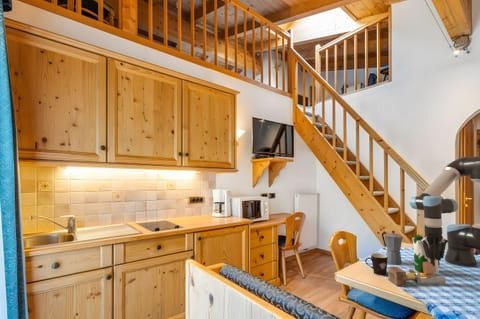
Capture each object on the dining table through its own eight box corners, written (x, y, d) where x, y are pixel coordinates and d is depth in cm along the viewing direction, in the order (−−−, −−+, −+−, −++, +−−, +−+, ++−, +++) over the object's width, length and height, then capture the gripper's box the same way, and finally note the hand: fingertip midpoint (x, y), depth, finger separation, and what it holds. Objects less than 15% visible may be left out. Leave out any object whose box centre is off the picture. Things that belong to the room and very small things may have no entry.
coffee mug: (388, 271, 156) (387, 253, 156) (389, 277, 148) (388, 258, 148) (365, 268, 161) (365, 251, 161) (365, 274, 153) (364, 256, 153)
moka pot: (399, 267, 161) (397, 233, 162) (376, 260, 176) (375, 228, 176) (409, 265, 165) (408, 231, 166) (387, 257, 179) (385, 227, 180)
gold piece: (428, 278, 142) (428, 261, 143) (433, 281, 139) (432, 264, 139) (398, 279, 142) (397, 262, 143) (402, 281, 139) (401, 264, 139)
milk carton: (412, 268, 160) (410, 234, 160) (429, 269, 158) (427, 234, 159) (419, 274, 151) (417, 237, 152) (437, 275, 149) (435, 238, 150)
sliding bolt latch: (436, 279, 144) (435, 267, 144) (445, 284, 137) (445, 272, 137) (409, 279, 144) (409, 268, 144) (418, 285, 137) (417, 273, 137)
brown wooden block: (398, 279, 144) (397, 266, 144) (406, 285, 137) (405, 271, 137) (388, 280, 144) (388, 266, 144) (396, 286, 137) (396, 271, 137)
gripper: (440, 224, 145) (442, 269, 144) (416, 224, 145) (418, 269, 144) (451, 227, 138) (453, 274, 137) (425, 227, 138) (427, 275, 137)
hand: (435, 272), depth 141 cm, fingers closed
